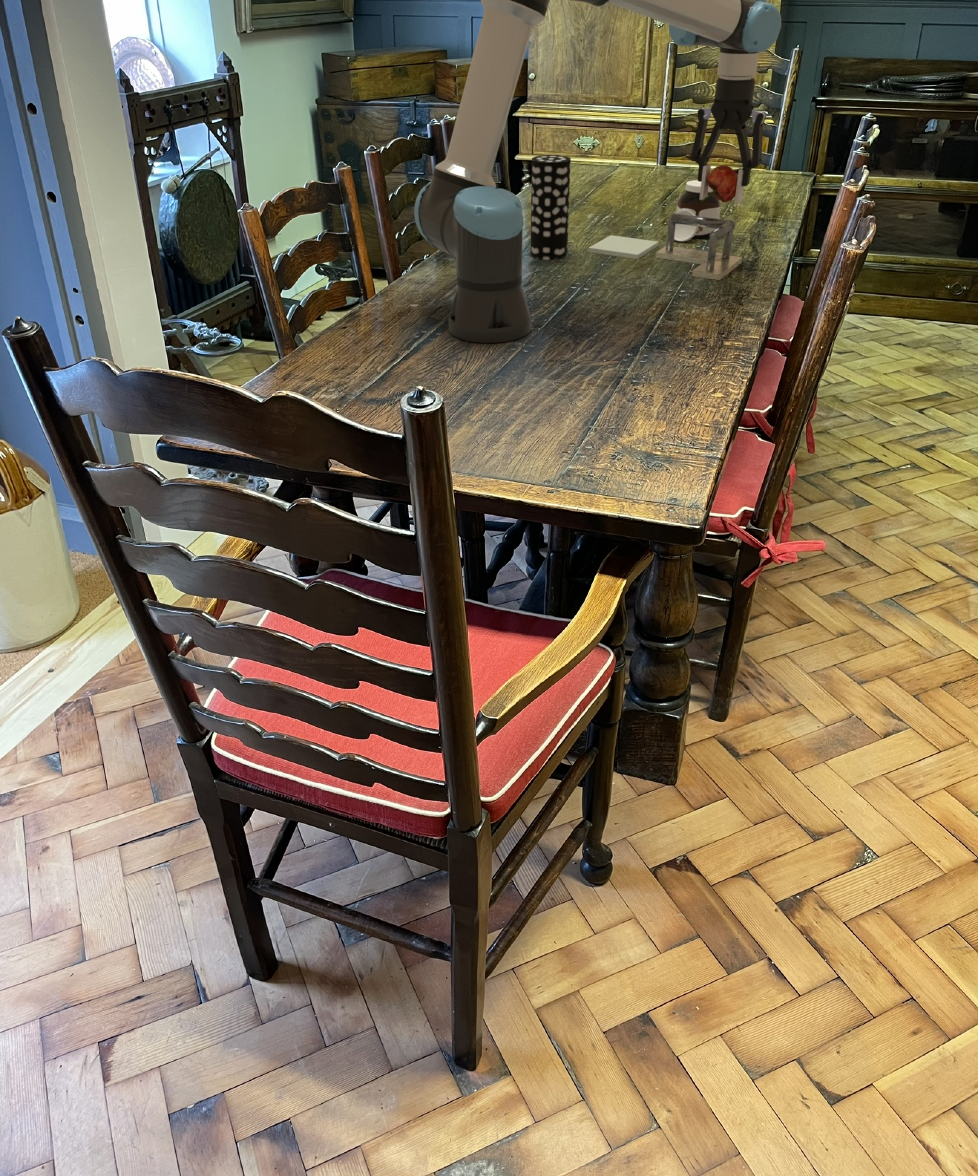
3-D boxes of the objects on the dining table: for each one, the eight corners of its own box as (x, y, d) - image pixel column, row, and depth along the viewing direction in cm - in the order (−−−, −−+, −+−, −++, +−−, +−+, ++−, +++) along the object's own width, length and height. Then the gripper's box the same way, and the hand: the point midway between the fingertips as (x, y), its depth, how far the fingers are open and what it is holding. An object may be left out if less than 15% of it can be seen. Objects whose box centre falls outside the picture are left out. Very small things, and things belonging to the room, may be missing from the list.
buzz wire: (719, 280, 193) (725, 235, 188) (639, 268, 201) (642, 224, 196) (742, 262, 204) (748, 218, 198) (665, 251, 211) (669, 209, 206)
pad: (637, 259, 206) (637, 254, 206) (588, 252, 211) (588, 247, 211) (658, 246, 215) (658, 241, 214) (610, 239, 220) (610, 235, 219)
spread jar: (715, 231, 225) (721, 180, 218) (719, 244, 216) (726, 190, 209) (664, 230, 226) (669, 179, 219) (667, 243, 217) (672, 190, 210)
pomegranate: (712, 217, 194) (754, 186, 191) (693, 187, 192) (736, 155, 189) (707, 213, 201) (747, 183, 198) (689, 183, 198) (730, 152, 195)
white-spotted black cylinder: (564, 260, 206) (568, 163, 195) (527, 259, 207) (528, 162, 196) (569, 250, 213) (573, 155, 201) (533, 249, 214) (535, 154, 203)
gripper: (791, 77, 182) (772, 202, 195) (695, 72, 190) (682, 191, 203) (780, 82, 176) (761, 209, 190) (681, 76, 185) (669, 198, 198)
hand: (720, 200), depth 196 cm, fingers closed on pomegranate, 7 cm apart
